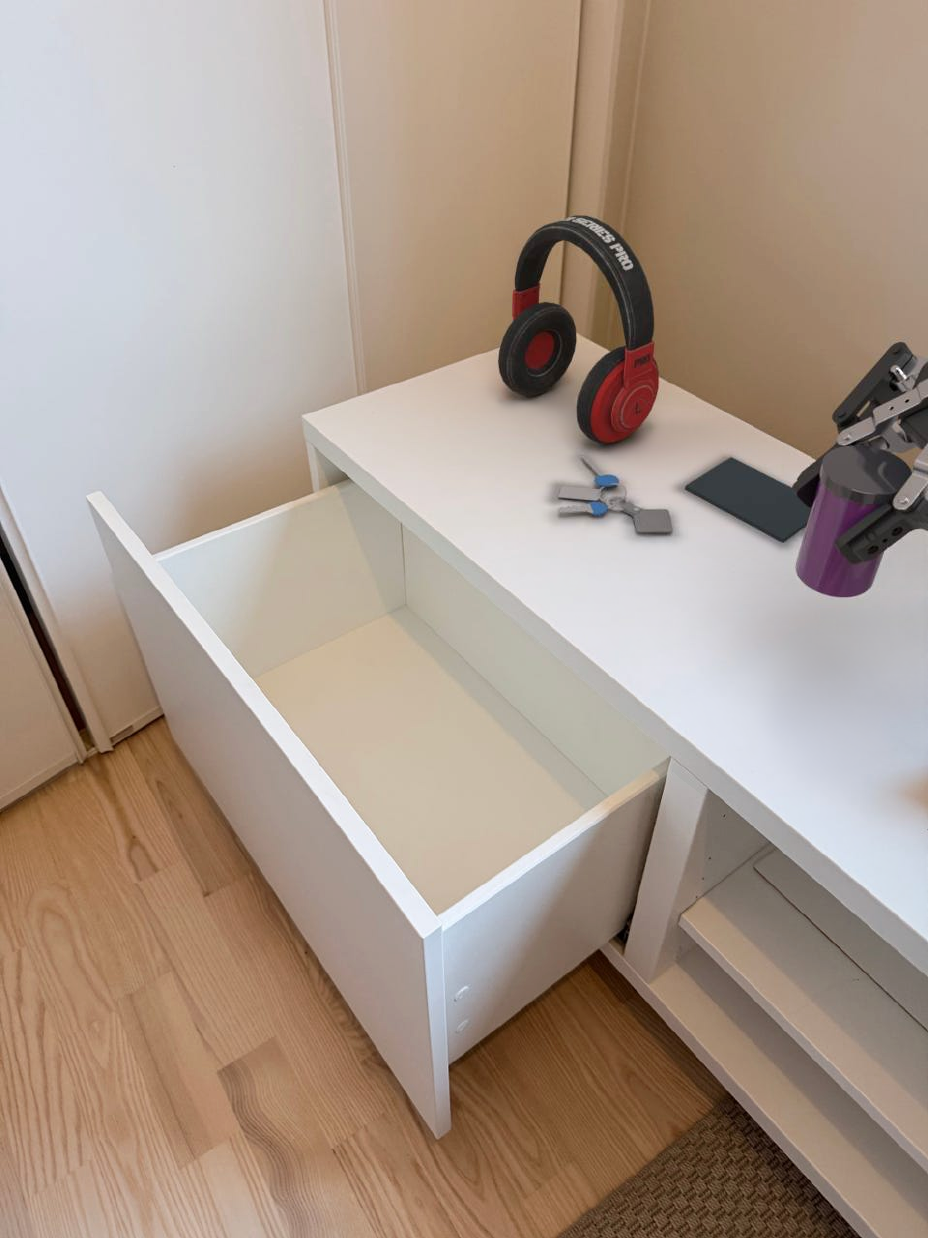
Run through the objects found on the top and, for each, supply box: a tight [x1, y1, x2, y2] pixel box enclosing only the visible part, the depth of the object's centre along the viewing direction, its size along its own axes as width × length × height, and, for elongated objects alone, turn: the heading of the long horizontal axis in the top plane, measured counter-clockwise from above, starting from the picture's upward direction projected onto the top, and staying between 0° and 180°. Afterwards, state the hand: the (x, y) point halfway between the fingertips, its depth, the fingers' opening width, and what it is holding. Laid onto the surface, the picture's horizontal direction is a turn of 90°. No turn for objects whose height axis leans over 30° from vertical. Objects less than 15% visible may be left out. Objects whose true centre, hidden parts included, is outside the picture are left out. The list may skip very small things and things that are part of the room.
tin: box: [794, 445, 913, 599], centre depth 57 cm, size 5×5×8 cm
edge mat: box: [684, 456, 811, 543], centre depth 87 cm, size 11×7×1 cm, turn 41°
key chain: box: [557, 453, 674, 533], centre depth 87 cm, size 14×8×1 cm, turn 36°
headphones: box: [497, 214, 660, 445], centre depth 92 cm, size 18×10×20 cm, turn 37°
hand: (822, 525), depth 57 cm, fingers closed on tin, 5 cm apart
